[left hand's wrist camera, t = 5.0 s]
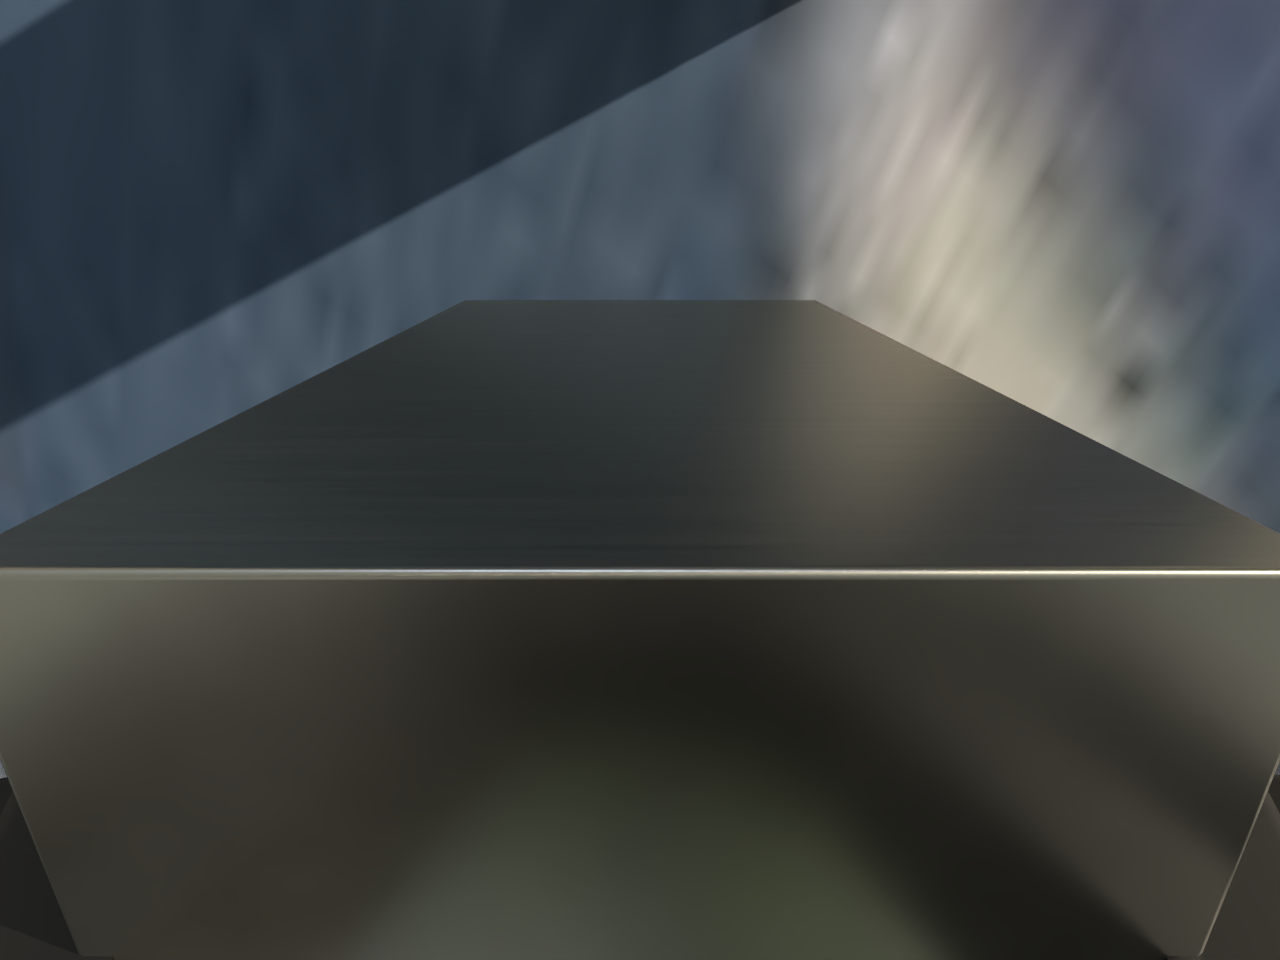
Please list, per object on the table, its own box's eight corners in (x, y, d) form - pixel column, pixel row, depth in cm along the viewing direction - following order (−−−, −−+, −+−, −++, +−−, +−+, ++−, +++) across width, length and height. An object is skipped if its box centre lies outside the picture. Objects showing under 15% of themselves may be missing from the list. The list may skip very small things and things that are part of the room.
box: (462, 300, 16) (-83, 569, 4) (817, 300, 16) (1363, 569, 4) (521, 976, 24) (400, 1757, 12) (758, 976, 24) (879, 1756, 12)
